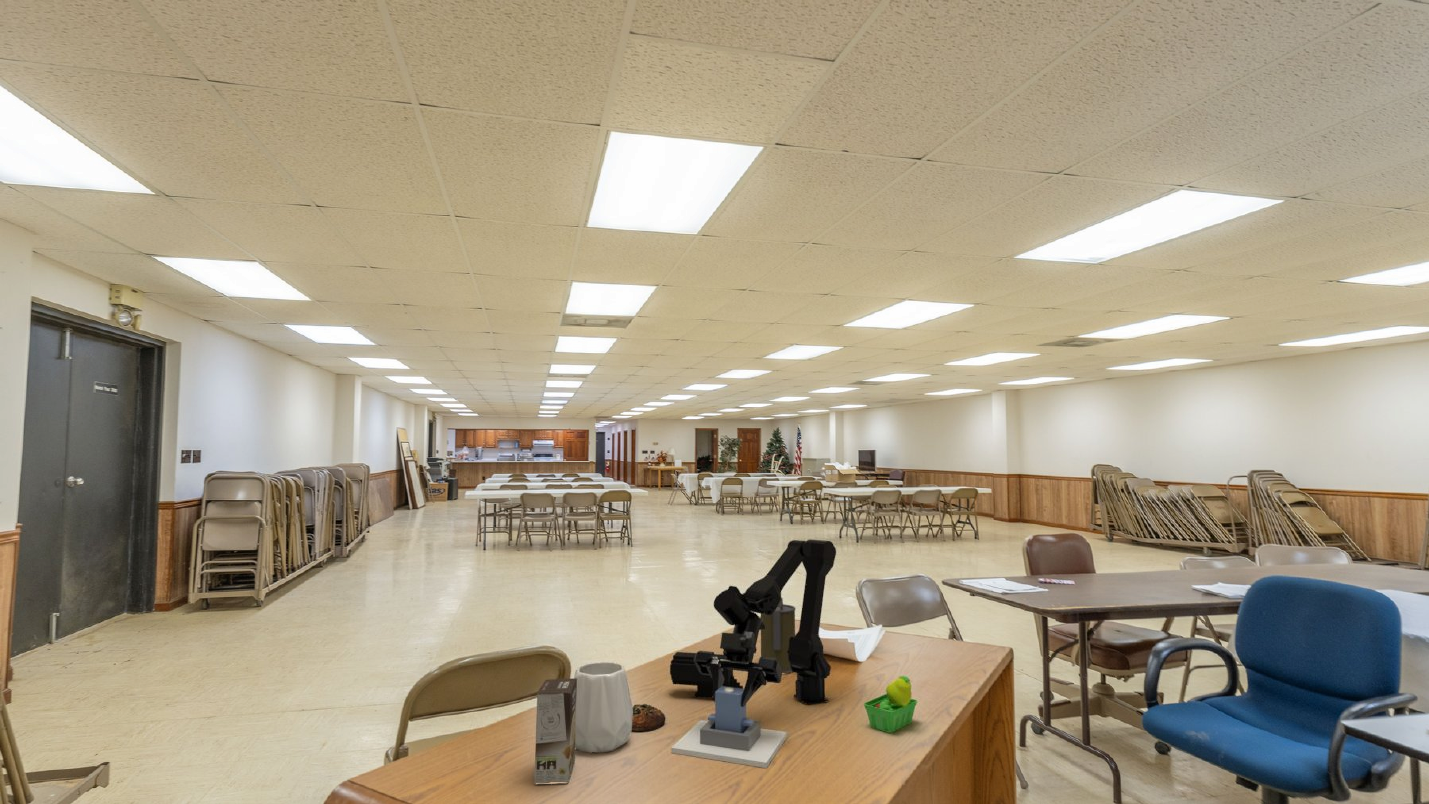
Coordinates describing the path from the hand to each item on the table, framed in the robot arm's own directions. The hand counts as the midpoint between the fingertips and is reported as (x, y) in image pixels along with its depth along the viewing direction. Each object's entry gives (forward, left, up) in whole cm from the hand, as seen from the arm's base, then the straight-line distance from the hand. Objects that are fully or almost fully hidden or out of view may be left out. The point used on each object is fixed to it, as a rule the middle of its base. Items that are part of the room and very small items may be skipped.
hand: (728, 704), depth 137 cm
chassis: (-1, -1, -8) cm, 9 cm away
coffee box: (+35, -2, -9) cm, 36 cm away
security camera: (-8, -31, -9) cm, 33 cm away
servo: (-1, -1, -7) cm, 7 cm away
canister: (-36, -44, -9) cm, 57 cm away
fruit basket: (-39, +4, -9) cm, 40 cm away
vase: (+24, -13, -9) cm, 29 cm away
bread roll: (+13, -20, -9) cm, 25 cm away
